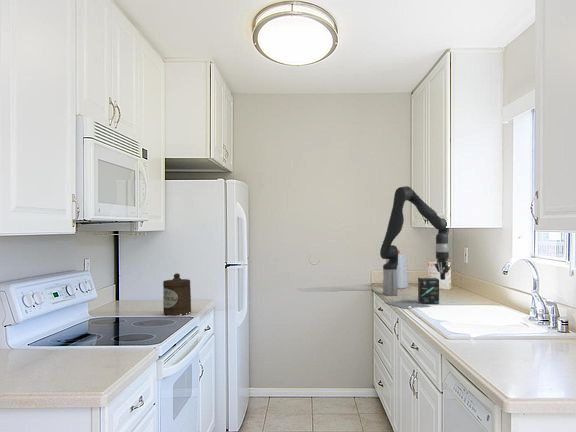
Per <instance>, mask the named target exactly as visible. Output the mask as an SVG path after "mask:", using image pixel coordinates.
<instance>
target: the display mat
mask: <svg viewBox="0 0 576 432" xmlns="http://www.w3.org/2000/svg"><path fill="white" fill-rule="evenodd" d="M383 303H384V304H387V305H390V306H394V307H396V308H399V309H403V310H404V309H409V308H408V307H409V306H411V307H420V308H430V307H432V306H431V305H429V304H421V303H420V302H418V301H417V302H416V301H412V300H397V301H385V302H383Z"/></svg>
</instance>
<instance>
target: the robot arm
mask: <svg viewBox="0 0 576 432" xmlns="http://www.w3.org/2000/svg"><path fill="white" fill-rule="evenodd" d="M406 201H408V202H409V203H411V204H412V205H414V206H415V208H416V210H417V211H418V212H419V214H420V215H421V216H422V217H423V218H424V219H426V220H427V221H428V222H429V223H430V225H431V226H433V228H434V229H436V230H437V234H436V236H435V259H436V262H437V263H436V264H435V267H436V269H437V271H438V272H440V279H441V280H445V273H447V272H448V271H449V269H450V267H451V266H452V264H451V265H449V264H448V262H449V261H448V260H449V259H450V254H449V253H450V250H449V249H450V248H449V233H450V227H449V228H446V226H447V222H446V220H445V219H446V218H445V217H444V218H445V219H444V218H442V217H440V216H439V215H438V213H437V212H436V211H435V210H434V209H433V208H432V207H430V206H429V205H428V204H427V203H425V201H424V200H423V199H422V198H421V197H420V196H419V195H418V194H417V192H415V191H414V189H413V188H411V187H410V186H408V185H407V186H400V187H397V189H395V192H394V195H393V204H392V208H391V211H390V216H389V220H388V224H387V228H386V232H385V236H384V239H383V241H382V243H381V247H380V250H379V254H380V255H379V256H380V257H381V258H382V260H386V259H389V261H388V262H387V263H386V262H385V263H384V264H383V265H382V268H383V269H382V273H383V274H382V279H383V280H382V294H383V295H384V296H397V295H398V289H397V265H398V250H399V249H398V247H397V246H396V245H395V244H393V241H395V239H396V238H397V237H398V236H399V234H400V233H401V231H402V229H403V225H404V221H405V219H404V211H403V210H404V209H403V208H404V205H405V202H406ZM451 268H452V267H451Z"/></svg>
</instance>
